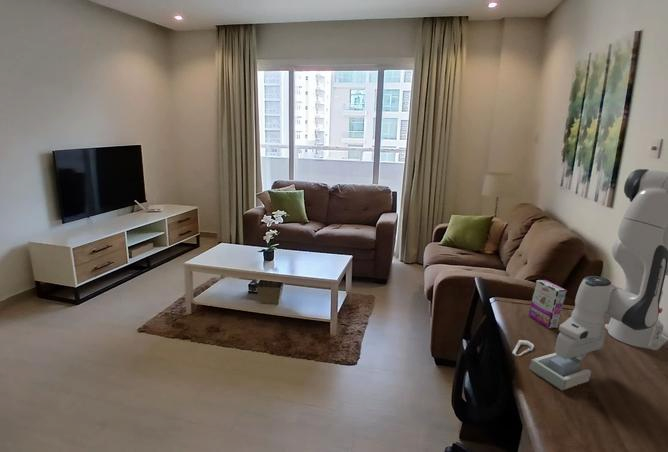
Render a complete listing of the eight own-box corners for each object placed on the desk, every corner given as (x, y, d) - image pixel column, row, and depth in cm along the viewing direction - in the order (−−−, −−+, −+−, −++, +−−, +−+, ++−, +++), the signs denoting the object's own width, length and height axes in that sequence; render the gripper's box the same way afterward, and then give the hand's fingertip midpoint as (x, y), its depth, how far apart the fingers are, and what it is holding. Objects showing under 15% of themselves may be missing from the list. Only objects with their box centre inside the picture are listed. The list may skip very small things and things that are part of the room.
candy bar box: (558, 328, 160) (567, 290, 156) (548, 329, 158) (557, 290, 154) (537, 315, 170) (545, 279, 166) (527, 315, 169) (535, 279, 164)
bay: (555, 360, 136) (557, 351, 135) (588, 380, 126) (591, 371, 126) (529, 368, 130) (531, 359, 129) (561, 390, 121) (564, 380, 120)
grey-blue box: (562, 367, 133) (565, 352, 131) (576, 376, 128) (580, 360, 127) (546, 372, 129) (550, 357, 128) (560, 381, 125) (564, 365, 123)
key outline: (526, 362, 136) (527, 358, 135) (511, 356, 138) (512, 352, 138) (534, 345, 146) (535, 341, 145) (520, 340, 149) (520, 336, 148)
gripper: (595, 316, 135) (585, 353, 139) (556, 326, 126) (546, 364, 129) (614, 325, 130) (604, 363, 133) (575, 336, 120) (564, 376, 124)
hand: (575, 364), depth 131 cm, fingers closed
